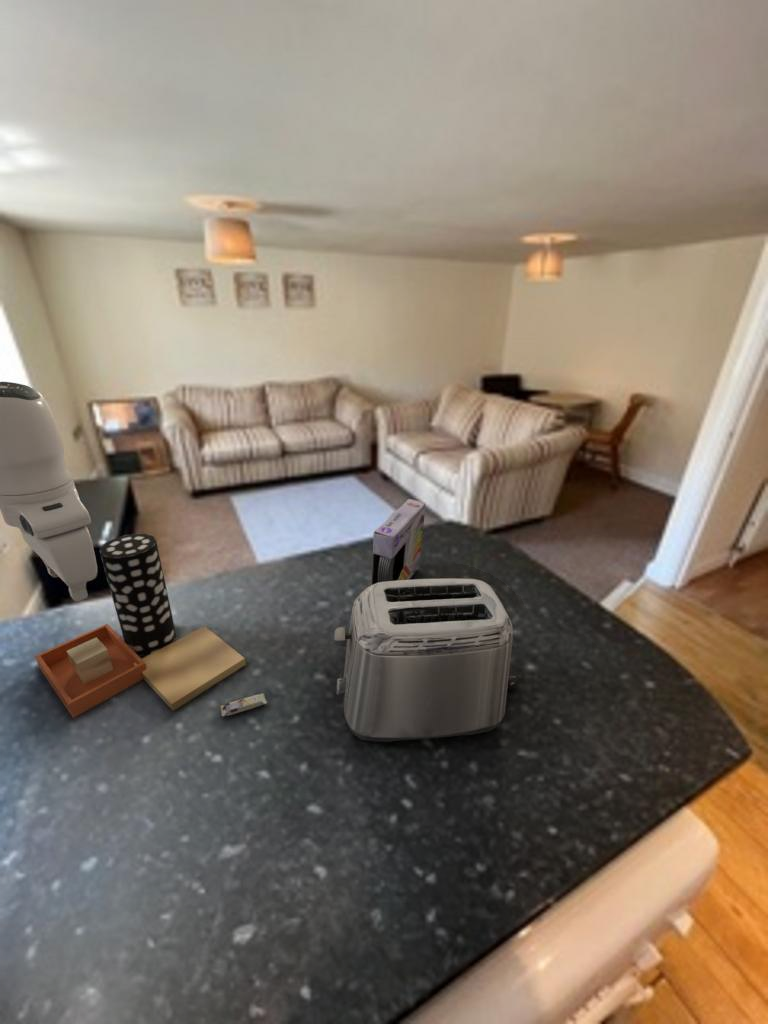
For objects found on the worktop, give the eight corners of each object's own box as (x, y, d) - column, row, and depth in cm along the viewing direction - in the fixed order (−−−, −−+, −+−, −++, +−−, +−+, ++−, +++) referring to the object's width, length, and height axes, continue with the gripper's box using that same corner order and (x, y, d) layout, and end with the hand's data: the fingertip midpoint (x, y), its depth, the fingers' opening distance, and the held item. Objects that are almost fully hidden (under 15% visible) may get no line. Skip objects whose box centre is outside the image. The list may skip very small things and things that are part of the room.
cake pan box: (388, 612, 92) (391, 536, 84) (366, 605, 94) (368, 530, 86) (421, 568, 108) (427, 501, 100) (402, 563, 110) (406, 497, 102)
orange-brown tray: (39, 668, 75) (34, 655, 74) (110, 635, 83) (107, 623, 82) (73, 718, 67) (68, 704, 66) (148, 675, 75) (145, 663, 74)
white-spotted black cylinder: (180, 644, 82) (160, 549, 73) (129, 662, 77) (102, 563, 69) (171, 620, 88) (151, 529, 79) (123, 635, 84) (97, 541, 75)
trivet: (134, 669, 76) (133, 663, 75) (205, 631, 85) (204, 625, 84) (173, 711, 68) (171, 704, 68) (245, 664, 78) (245, 658, 77)
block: (73, 671, 75) (66, 650, 73) (102, 657, 78) (96, 637, 76) (83, 685, 72) (76, 664, 70) (113, 670, 75) (107, 649, 73)
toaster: (336, 666, 78) (334, 573, 70) (501, 659, 80) (517, 569, 73) (335, 754, 63) (332, 648, 55) (538, 741, 65) (564, 638, 57)
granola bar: (264, 695, 72) (264, 690, 71) (267, 706, 70) (266, 701, 69) (220, 708, 69) (219, 703, 69) (221, 719, 67) (221, 714, 67)
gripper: (-8, 490, 66) (22, 570, 72) (37, 532, 54) (68, 624, 60) (42, 479, 70) (67, 555, 76) (94, 516, 59) (118, 602, 65)
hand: (68, 586), depth 68 cm, fingers open, 8 cm apart
